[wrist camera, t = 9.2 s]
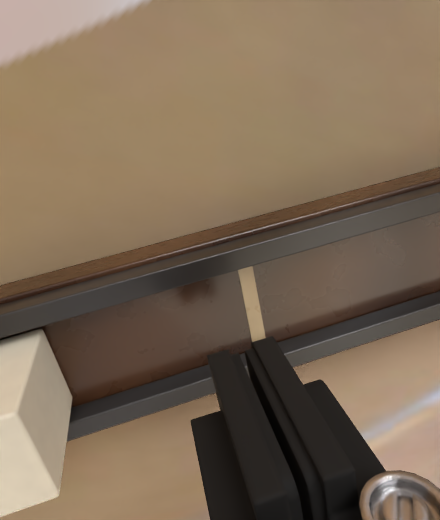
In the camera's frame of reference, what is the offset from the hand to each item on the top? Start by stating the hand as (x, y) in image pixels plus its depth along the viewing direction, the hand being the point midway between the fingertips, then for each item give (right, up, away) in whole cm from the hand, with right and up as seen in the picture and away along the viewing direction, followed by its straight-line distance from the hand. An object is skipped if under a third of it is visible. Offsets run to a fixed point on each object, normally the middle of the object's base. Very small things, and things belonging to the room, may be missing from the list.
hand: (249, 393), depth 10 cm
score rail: (0, +2, +5) cm, 5 cm away
